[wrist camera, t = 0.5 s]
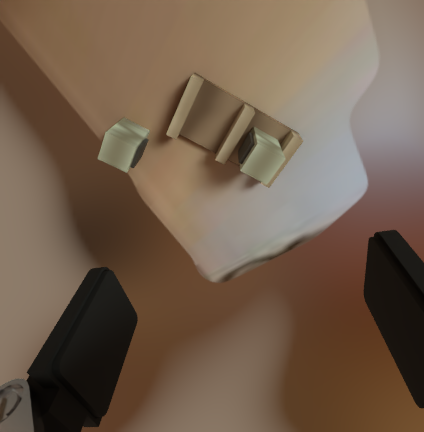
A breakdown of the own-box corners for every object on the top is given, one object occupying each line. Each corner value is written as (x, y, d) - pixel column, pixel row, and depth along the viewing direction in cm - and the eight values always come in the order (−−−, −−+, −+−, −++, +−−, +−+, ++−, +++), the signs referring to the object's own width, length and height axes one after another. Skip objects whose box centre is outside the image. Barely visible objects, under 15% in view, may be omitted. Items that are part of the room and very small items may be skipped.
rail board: (170, 126, 40) (158, 146, 34) (194, 72, 36) (185, 82, 30) (266, 177, 44) (272, 203, 37) (298, 133, 40) (311, 153, 33)
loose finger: (116, 141, 42) (97, 158, 36) (124, 117, 40) (105, 132, 34) (143, 154, 43) (130, 174, 37) (153, 132, 41) (140, 149, 35)
